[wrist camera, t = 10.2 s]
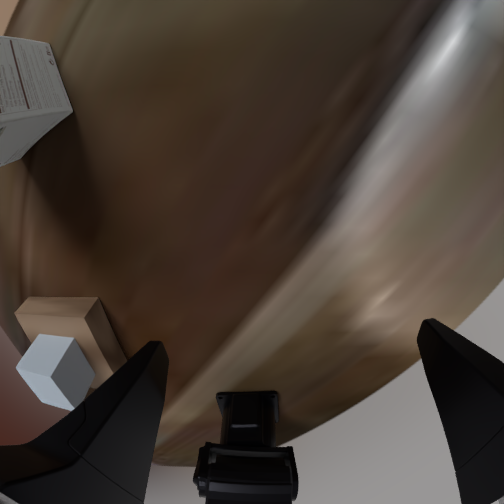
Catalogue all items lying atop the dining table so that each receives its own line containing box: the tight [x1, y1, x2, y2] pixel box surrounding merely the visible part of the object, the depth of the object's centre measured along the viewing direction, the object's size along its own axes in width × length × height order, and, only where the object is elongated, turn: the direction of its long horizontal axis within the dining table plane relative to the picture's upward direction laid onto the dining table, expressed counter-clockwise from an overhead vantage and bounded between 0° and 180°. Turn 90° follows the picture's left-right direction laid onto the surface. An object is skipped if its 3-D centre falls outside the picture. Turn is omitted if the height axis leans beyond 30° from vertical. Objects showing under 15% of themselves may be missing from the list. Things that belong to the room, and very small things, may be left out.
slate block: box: [16, 334, 96, 411], centre depth 21 cm, size 5×5×5 cm
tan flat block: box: [15, 297, 127, 389], centre depth 25 cm, size 10×10×3 cm
